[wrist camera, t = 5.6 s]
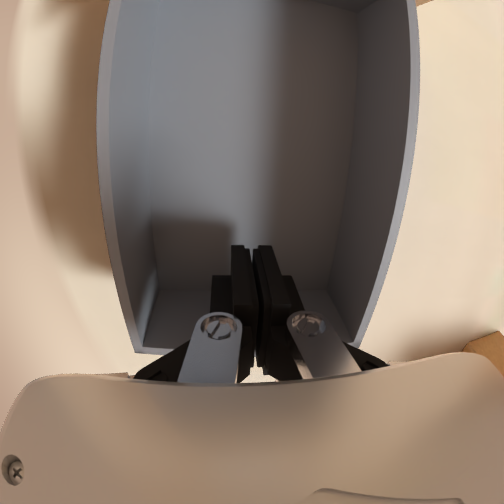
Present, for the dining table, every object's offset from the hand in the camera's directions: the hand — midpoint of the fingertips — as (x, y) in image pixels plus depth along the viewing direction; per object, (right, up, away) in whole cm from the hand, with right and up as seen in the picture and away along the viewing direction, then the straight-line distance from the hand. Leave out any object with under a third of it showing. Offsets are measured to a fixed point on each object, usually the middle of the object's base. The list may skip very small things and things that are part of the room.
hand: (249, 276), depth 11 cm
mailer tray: (0, +6, -1) cm, 6 cm away
